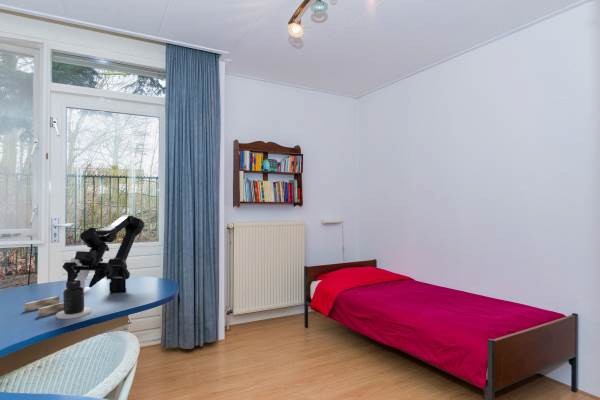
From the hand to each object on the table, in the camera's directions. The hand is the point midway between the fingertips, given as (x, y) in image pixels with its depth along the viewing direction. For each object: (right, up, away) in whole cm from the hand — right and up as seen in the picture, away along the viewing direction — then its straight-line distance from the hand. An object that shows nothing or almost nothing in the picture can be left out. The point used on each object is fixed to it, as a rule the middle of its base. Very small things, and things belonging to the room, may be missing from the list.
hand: (78, 286), depth 141 cm
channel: (-13, -10, +2) cm, 17 cm away
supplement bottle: (0, -10, -2) cm, 10 cm away
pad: (0, -10, -2) cm, 10 cm away
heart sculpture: (-17, -9, +29) cm, 35 cm away
